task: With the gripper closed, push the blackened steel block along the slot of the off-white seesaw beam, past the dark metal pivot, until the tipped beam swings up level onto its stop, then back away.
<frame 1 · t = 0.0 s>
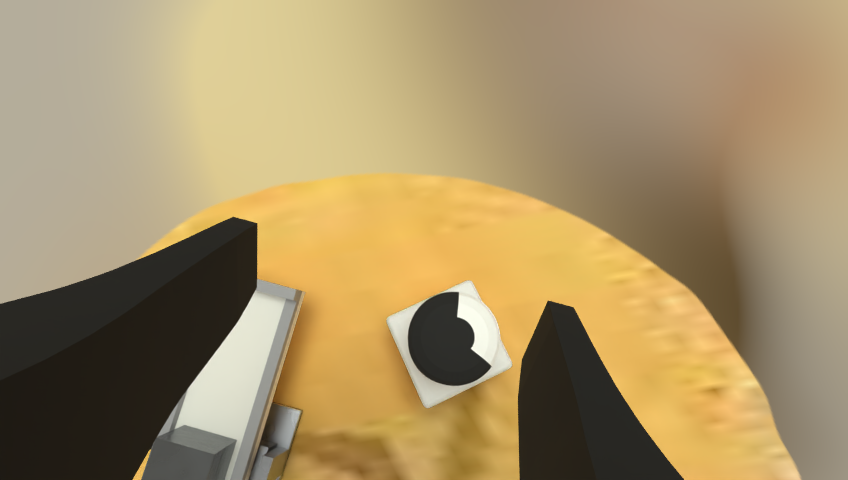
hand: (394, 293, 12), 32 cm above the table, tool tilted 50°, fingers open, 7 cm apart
beam: (207, 452, 37), point 4 cm above the table, hinge at -6.3°, touching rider
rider: (199, 467, 36), point 5 cm above the table, tilted 6°, touching beam
medicine bottle: (442, 347, 44), on the table
pivot stand: (228, 443, 41), on the table
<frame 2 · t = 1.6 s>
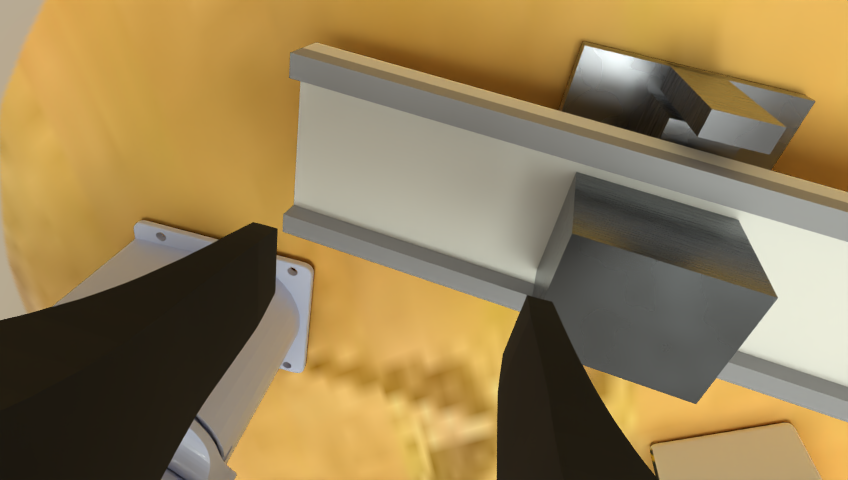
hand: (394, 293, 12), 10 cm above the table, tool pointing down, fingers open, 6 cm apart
beam: (655, 246, 17), point 4 cm above the table, hinge at -6.3°, touching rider
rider: (628, 247, 17), point 5 cm above the table, tilted 6°, touching beam
medicine bottle: (729, 467, 29), on the table
pivot stand: (633, 189, 21), on the table
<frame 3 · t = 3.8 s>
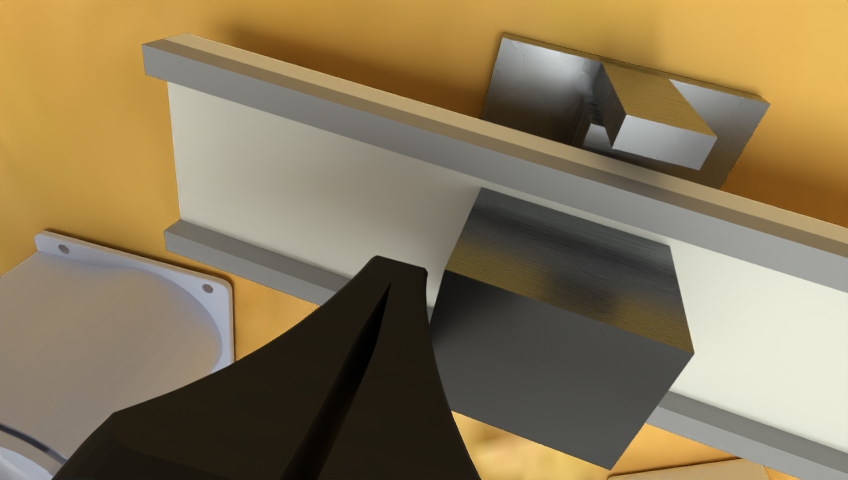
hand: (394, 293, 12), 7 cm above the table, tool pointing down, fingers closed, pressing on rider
beam: (581, 273, 15), point 4 cm above the table, hinge at -6.3°, touching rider
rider: (548, 274, 14), point 5 cm above the table, tilted 6°, touching beam, gripper
pivot stand: (572, 202, 18), on the table
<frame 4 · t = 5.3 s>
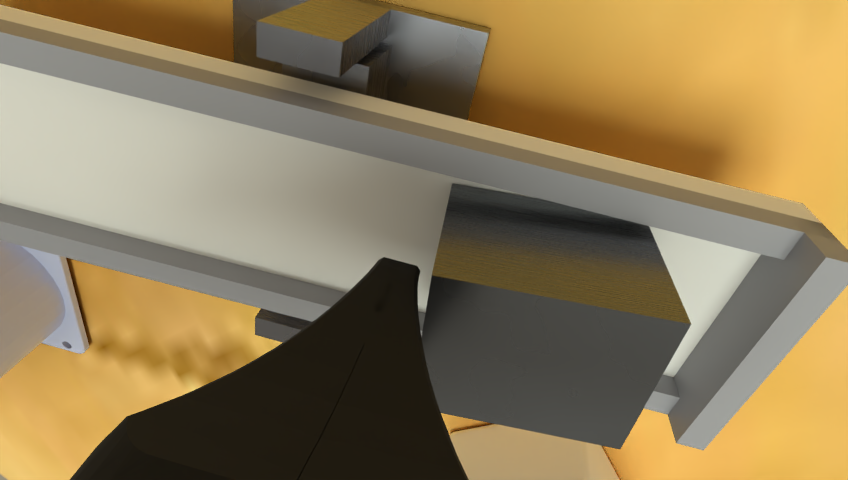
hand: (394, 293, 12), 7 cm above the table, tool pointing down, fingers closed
beam: (304, 199, 15), point 4 cm above the table, hinge at 1.0°
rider: (529, 262, 14), point 5 cm above the table, touching gripper
medicine bottle: (537, 457, 27), on the table
pivot stand: (349, 143, 19), on the table
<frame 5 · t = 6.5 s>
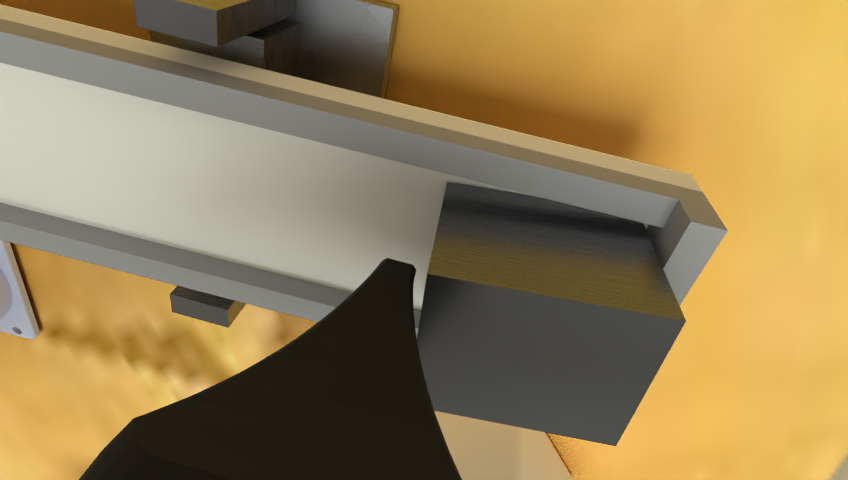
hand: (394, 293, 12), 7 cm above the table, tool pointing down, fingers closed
beam: (210, 174, 15), point 4 cm above the table, hinge at 1.2°, touching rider
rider: (524, 260, 14), point 5 cm above the table, touching beam, gripper
medicine bottle: (484, 442, 27), on the table
pivot stand: (273, 124, 19), on the table
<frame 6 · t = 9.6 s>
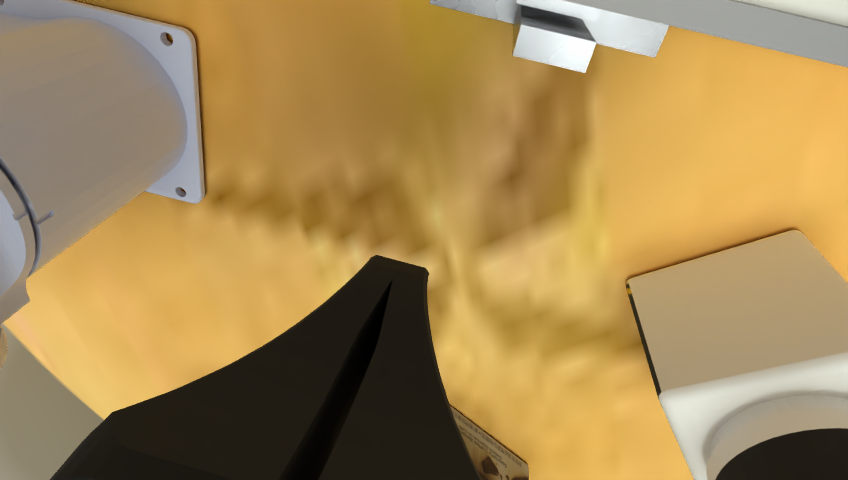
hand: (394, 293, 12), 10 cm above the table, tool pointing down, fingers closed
medicine bottle: (722, 308, 24), on the table
coffee box: (446, 442, 32), on the table
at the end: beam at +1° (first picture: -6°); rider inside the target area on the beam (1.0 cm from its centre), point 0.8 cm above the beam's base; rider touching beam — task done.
